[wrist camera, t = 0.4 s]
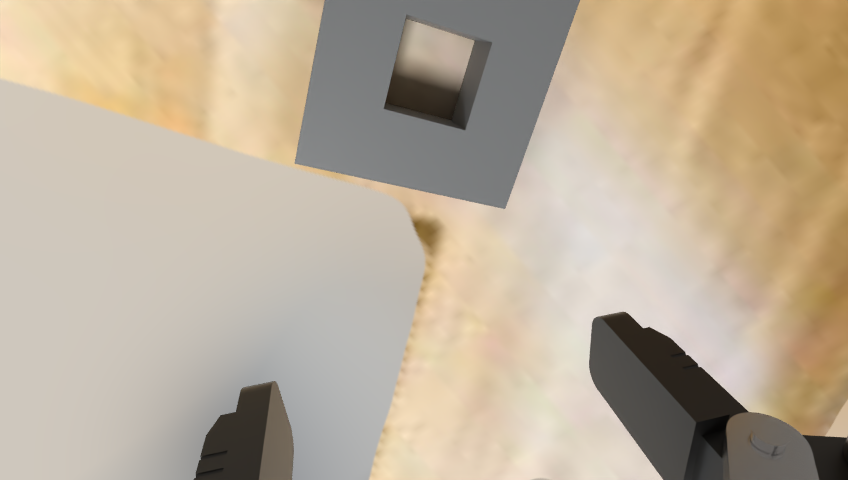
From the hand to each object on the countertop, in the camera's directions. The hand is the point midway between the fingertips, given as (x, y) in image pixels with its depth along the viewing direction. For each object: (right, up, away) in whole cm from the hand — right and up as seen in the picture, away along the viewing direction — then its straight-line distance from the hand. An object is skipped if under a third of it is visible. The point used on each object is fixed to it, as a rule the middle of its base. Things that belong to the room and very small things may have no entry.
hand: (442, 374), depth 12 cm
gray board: (0, +16, +24) cm, 28 cm away
